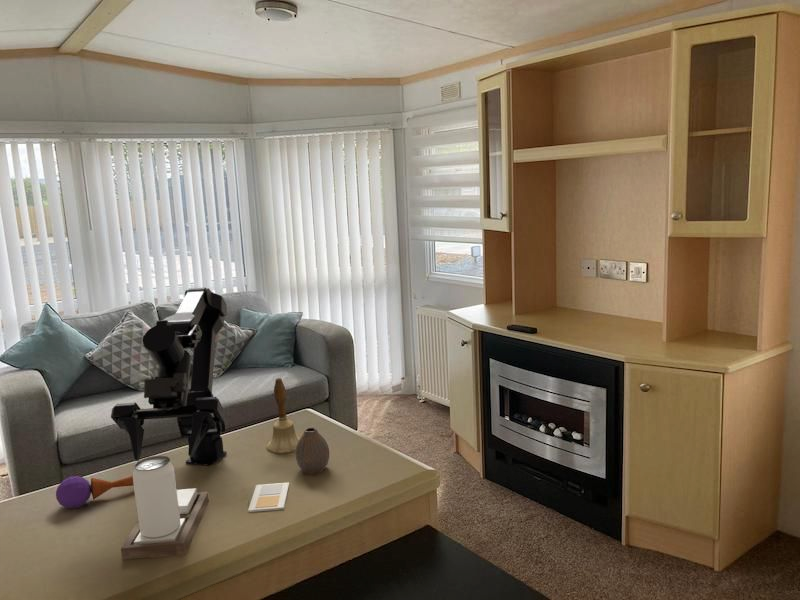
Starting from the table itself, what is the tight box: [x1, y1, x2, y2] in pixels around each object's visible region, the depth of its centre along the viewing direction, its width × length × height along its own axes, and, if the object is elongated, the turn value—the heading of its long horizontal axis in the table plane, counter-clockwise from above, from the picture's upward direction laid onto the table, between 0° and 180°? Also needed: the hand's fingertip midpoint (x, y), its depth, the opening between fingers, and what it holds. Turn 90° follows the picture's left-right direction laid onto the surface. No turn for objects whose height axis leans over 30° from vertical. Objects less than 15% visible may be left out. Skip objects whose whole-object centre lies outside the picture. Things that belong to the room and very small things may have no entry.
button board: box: [120, 491, 210, 560], centre depth 114 cm, size 18×10×2 cm, turn 4°
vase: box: [294, 427, 330, 475], centre depth 134 cm, size 7×7×9 cm
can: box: [132, 455, 181, 538], centre depth 109 cm, size 6×6×12 cm
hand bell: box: [266, 377, 301, 454], centre depth 146 cm, size 8×8×16 cm
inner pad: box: [177, 488, 198, 515], centre depth 118 cm, size 7×7×2 cm
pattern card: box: [247, 481, 290, 513], centre depth 124 cm, size 10×6×1 cm, turn 4°
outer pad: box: [134, 518, 186, 545], centre depth 110 cm, size 7×7×2 cm
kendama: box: [55, 475, 134, 510], centre depth 128 cm, size 6×6×20 cm
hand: (163, 458), depth 114 cm, fingers open, 9 cm apart
